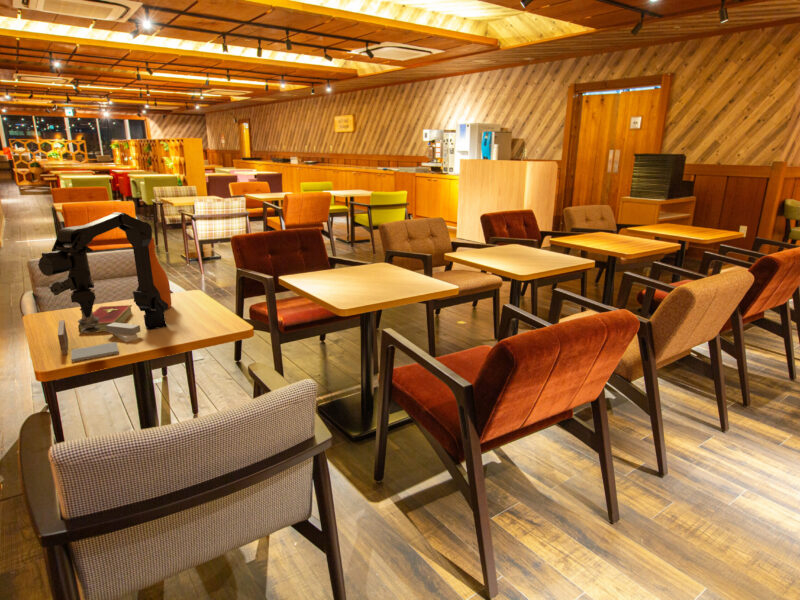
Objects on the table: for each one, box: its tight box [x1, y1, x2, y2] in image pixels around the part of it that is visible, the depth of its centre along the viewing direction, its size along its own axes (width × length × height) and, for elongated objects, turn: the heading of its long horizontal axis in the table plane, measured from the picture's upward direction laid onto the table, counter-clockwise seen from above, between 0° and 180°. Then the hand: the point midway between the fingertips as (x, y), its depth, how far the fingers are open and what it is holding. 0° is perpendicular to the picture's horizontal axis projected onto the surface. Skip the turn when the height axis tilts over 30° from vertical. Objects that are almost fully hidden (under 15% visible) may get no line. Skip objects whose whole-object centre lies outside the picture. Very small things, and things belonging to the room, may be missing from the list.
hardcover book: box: [77, 304, 133, 334], centre depth 190 cm, size 12×21×4 cm, turn 11°
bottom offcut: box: [111, 332, 139, 343], centre depth 177 cm, size 4×12×2 cm, turn 49°
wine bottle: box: [149, 236, 172, 309], centre depth 204 cm, size 10×10×30 cm
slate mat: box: [70, 341, 120, 363], centre depth 163 cm, size 13×9×1 cm
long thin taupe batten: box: [57, 319, 69, 356], centre depth 167 cm, size 2×16×7 cm, turn 32°
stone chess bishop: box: [77, 306, 100, 334], centre depth 159 cm, size 6×6×12 cm
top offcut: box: [106, 322, 141, 335], centre depth 176 cm, size 4×11×2 cm, turn 75°
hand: (87, 315), depth 159 cm, fingers closed on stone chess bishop, 3 cm apart
